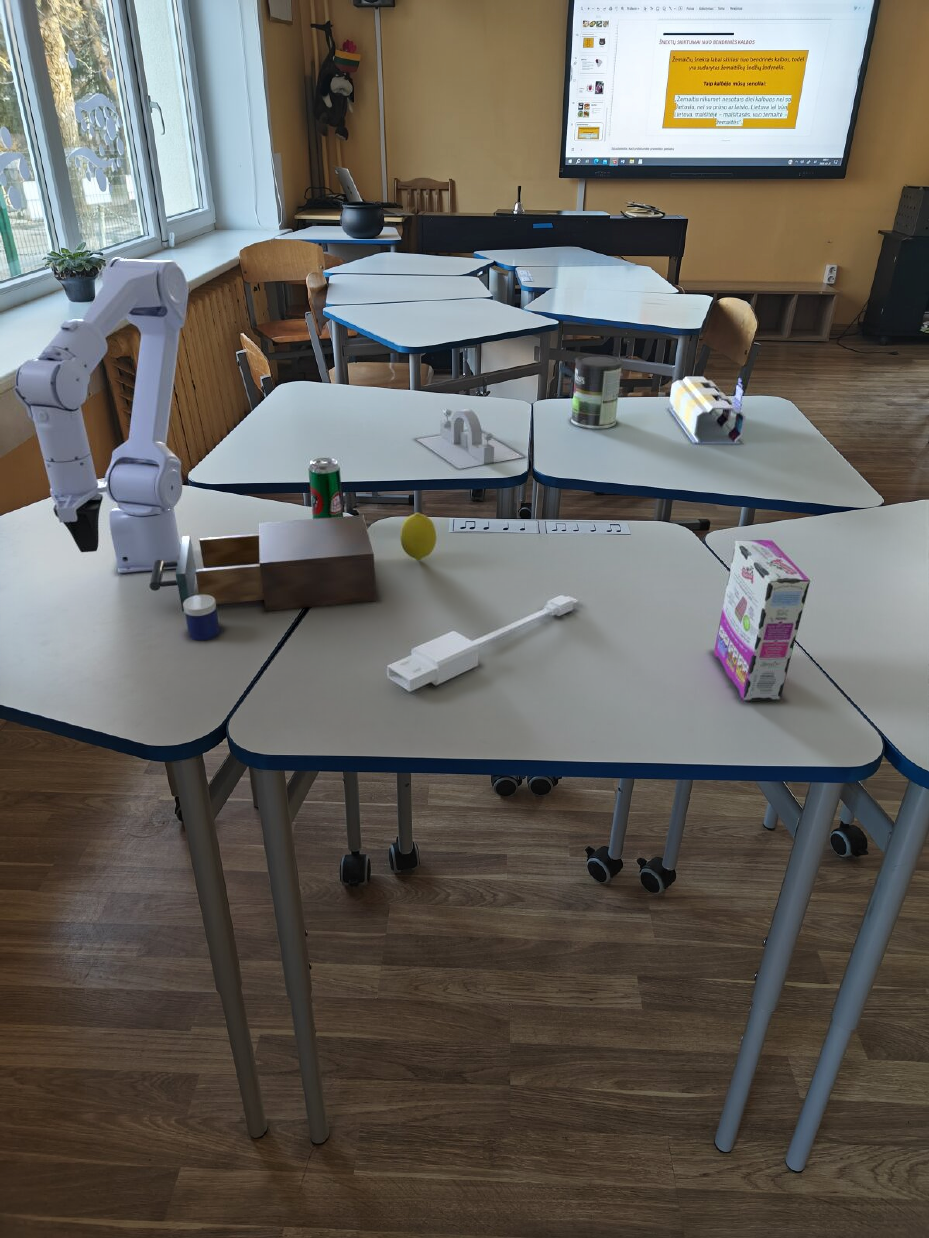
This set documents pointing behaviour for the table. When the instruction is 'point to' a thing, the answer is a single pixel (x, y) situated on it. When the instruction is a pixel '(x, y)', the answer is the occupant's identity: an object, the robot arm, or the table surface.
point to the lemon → (418, 536)
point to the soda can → (325, 488)
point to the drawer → (216, 569)
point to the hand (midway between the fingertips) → (89, 549)
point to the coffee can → (596, 391)
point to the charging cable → (458, 651)
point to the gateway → (467, 442)
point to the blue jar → (201, 617)
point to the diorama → (706, 411)
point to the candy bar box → (760, 619)
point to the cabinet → (316, 562)
